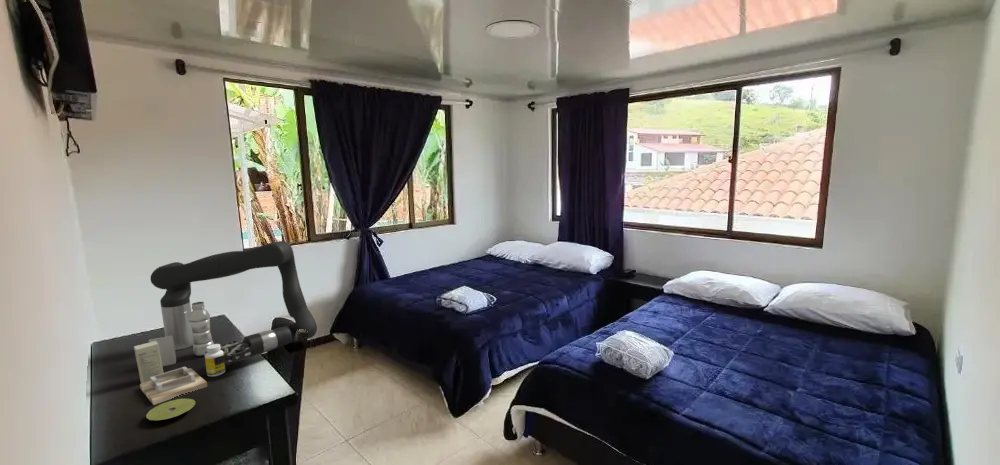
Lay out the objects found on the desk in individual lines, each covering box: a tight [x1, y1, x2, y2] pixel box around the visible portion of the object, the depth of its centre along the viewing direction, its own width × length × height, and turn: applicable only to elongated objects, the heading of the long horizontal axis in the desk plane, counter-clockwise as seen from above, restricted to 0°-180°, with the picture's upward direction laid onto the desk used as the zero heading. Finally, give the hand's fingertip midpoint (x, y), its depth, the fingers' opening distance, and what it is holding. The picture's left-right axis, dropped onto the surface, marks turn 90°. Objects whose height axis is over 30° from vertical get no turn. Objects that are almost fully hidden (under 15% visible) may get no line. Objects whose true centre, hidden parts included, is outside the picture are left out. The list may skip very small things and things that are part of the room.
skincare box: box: [133, 341, 165, 384], centre depth 146 cm, size 6×4×12 cm
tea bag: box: [148, 336, 177, 367], centre depth 158 cm, size 4×7×10 cm, turn 123°
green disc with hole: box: [145, 398, 196, 421], centre depth 125 cm, size 11×11×2 cm
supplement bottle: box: [204, 343, 226, 377], centre depth 150 cm, size 5×5×10 cm
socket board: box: [139, 366, 208, 406], centre depth 141 cm, size 16×14×4 cm
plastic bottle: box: [189, 301, 215, 357], centre depth 165 cm, size 6×7×20 cm
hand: (210, 358), depth 148 cm, fingers open, 8 cm apart
